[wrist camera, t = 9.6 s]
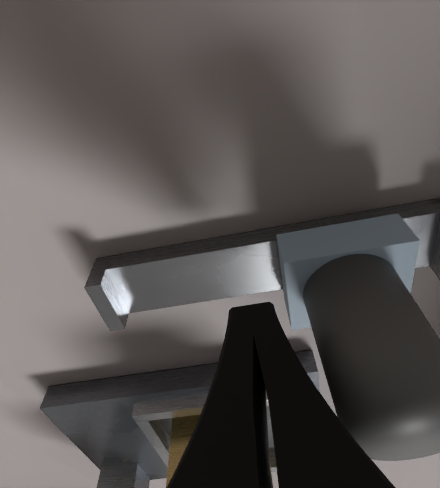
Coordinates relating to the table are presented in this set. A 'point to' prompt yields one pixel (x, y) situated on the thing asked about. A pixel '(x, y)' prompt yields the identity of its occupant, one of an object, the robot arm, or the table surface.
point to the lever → (368, 331)
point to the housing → (180, 441)
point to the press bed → (137, 418)
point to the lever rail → (226, 265)
